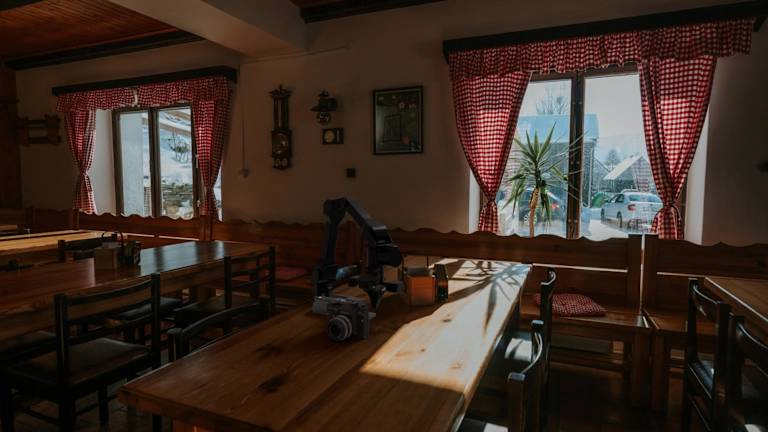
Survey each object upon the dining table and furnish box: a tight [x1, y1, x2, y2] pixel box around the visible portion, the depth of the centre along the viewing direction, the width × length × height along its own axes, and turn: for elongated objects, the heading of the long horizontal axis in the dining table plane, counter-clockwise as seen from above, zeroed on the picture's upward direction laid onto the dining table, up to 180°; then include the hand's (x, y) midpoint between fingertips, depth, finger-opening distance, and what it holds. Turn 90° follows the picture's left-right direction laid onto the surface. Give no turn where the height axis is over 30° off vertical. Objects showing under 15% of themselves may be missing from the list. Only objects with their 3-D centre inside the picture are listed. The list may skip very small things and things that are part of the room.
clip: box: [346, 296, 366, 306], centre depth 155 cm, size 5×4×4 cm
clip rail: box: [369, 311, 377, 321], centre depth 154 cm, size 8×5×1 cm, turn 62°
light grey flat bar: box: [319, 296, 349, 303], centre depth 158 cm, size 14×2×1 cm, turn 62°
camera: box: [326, 299, 370, 342], centre depth 133 cm, size 14×11×10 cm
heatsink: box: [312, 292, 357, 316], centre depth 158 cm, size 15×10×5 cm, turn 62°
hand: (375, 309), depth 151 cm, fingers closed
